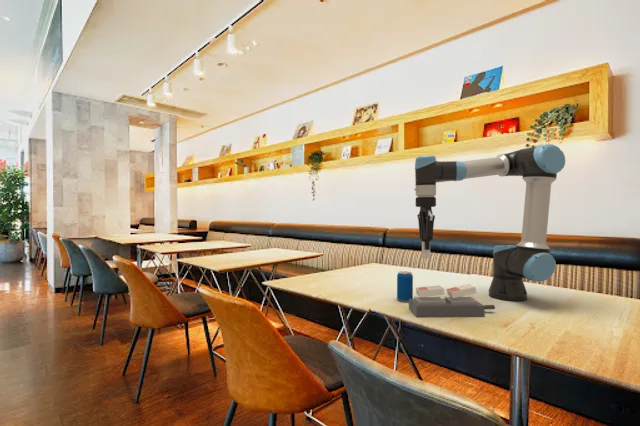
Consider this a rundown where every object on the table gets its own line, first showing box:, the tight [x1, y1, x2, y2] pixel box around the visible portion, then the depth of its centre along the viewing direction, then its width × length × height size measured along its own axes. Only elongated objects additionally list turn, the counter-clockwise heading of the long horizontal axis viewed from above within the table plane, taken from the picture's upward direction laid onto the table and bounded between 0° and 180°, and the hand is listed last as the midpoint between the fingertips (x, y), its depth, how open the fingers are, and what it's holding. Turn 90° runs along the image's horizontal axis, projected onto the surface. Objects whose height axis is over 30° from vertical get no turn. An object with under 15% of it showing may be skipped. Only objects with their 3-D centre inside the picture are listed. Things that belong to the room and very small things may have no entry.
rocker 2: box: [446, 283, 477, 298], centre depth 133 cm, size 9×5×2 cm, turn 91°
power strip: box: [408, 296, 496, 318], centre depth 134 cm, size 31×10×5 cm, turn 91°
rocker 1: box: [415, 285, 445, 297], centre depth 133 cm, size 9×5×2 cm, turn 91°
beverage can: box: [396, 270, 414, 303], centre depth 150 cm, size 6×6×12 cm
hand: (426, 257), depth 136 cm, fingers closed
